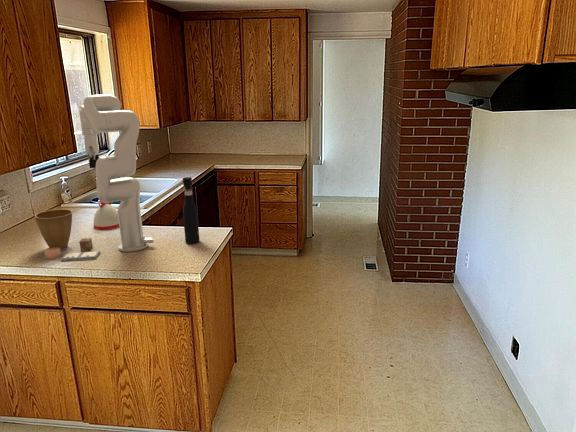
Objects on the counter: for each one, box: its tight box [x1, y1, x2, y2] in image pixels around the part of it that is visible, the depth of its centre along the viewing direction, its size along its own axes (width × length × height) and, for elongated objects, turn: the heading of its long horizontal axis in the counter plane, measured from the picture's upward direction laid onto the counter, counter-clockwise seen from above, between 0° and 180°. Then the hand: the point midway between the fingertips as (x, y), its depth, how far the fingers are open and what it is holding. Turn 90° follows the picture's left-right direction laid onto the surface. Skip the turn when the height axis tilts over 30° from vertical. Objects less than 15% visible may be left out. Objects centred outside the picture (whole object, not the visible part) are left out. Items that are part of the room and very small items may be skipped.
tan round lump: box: [44, 247, 62, 261], centre depth 194 cm, size 6×6×4 cm
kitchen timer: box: [92, 200, 119, 231], centre depth 235 cm, size 14×14×15 cm
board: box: [60, 250, 101, 262], centre depth 193 cm, size 14×7×1 cm, turn 98°
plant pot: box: [34, 208, 73, 250], centre depth 204 cm, size 15×15×16 cm
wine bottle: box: [182, 176, 200, 245], centre depth 204 cm, size 6×6×30 cm
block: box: [79, 237, 94, 252], centre depth 200 cm, size 4×4×5 cm
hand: (95, 166), depth 225 cm, fingers open, 9 cm apart
